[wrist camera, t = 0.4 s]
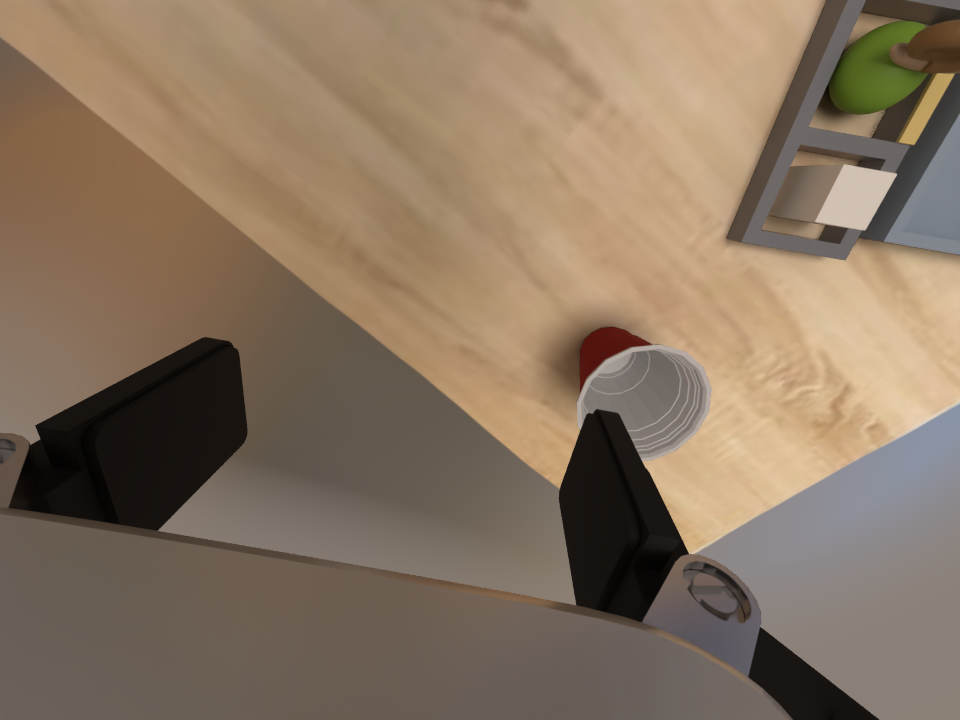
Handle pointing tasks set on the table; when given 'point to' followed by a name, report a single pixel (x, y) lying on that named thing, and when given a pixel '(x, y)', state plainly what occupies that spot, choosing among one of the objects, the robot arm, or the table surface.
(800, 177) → the block
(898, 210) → the tray
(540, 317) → the table surface
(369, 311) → the table surface
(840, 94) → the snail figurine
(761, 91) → the table surface
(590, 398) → the plastic cup
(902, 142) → the rack
